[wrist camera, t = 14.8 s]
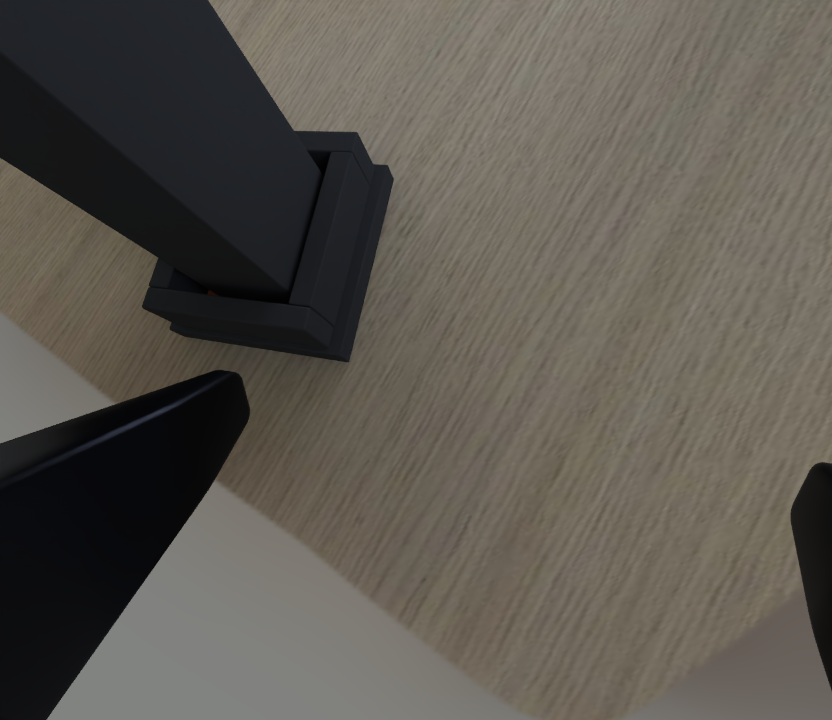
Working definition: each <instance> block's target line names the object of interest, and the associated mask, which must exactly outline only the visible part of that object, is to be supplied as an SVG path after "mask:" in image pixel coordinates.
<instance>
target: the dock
mask: <svg viewBox="0 0 832 720" xmlns="http://www.w3.org/2000/svg"><path fill="white" fill-rule="evenodd" d="M294 132H295V133H296V135H297V136H298V138H299V139H300V141H301V142H302V144H303V146H304V147H305V149H306V150H307V152H308V153H309V155H310V156H311V158H312V159H313V161H314V162H315V164H316V165H317V167H318V168H319V170H320V171H321V173H322V174H323V176H324V178H323V182H322V186H321V189H320V193H319V196H318V200H317V203H316V207H315V211H314V214H313V218H312V221H311V225H310V228H309V232H308V235H307V239H306V243H305V246H304V250H303V253H302V257H301V260H300V264H299V268H298V271H297V275H296V278H295V282H294V285H293V289H292V292H291V296H290V300H289V304H290V305H287V304H280V303H272V302H264V301H256V300H248V299H240V298H232V297H225V296H219V295H217V294H215V293H214V292H212V291H211V290H209V289H207V288H206V287H204V286H203V285H201V284H200V283H198V282H196V281H195V280H193V279H192V278H190V277H188V276H187V275H185V274H184V273H182V272H181V271H179V270H177V269H176V268H174V267H173V266H171V265H169V264H168V263H166V262H165V261H163V260H162V259H160V258H158V261H157V263H156V266H155V269H154V272H153V275H152V278H151V281H150V283H149V286H150V287H149V288H148V290H147V293H146V296H145V299H144V302H143V305H142V308H144V309H145V310H147V311H150V312H152V313H154V314H156V315H158V316H160V317H162V318H164V319H166V320H168V321H171V322H172V323H171V326H170V330H172V331H174V332H176V333H178V334H180V335H183V336H185V337H191V338H198V339H204V340H210V341H217V342H223V343H229V344H236V345H242V346H248V347H255V348H261V349H267V350H274V351H280V352H286V353H293V354H299V355H305V356H312V357H318V358H324V359H331V360H337V361H343V362H349V359H350V355H351V351H352V347H353V343H354V339H355V335H356V331H357V327H358V323H359V319H360V314H361V310H362V306H363V302H364V298H365V294H366V290H367V286H368V282H369V278H370V274H371V270H372V265H373V261H374V257H375V253H376V249H377V245H378V241H379V237H380V233H381V229H382V225H383V221H384V216H385V212H386V208H387V204H388V200H389V196H390V192H391V188H392V184H393V180H394V179H393V177H392V174H391V172H390V170H389V167H388V165H375V164H373V163H372V161H371V159H370V157H369V155H368V153H367V151H366V149H365V147H364V145H363V143H362V141H361V139H360V137H359V135H358V133H357V132H322V131H294Z"/></svg>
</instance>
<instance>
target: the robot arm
mask: <svg viewBox="0 0 832 720" xmlns="http://www.w3.org/2000/svg"><path fill="white" fill-rule="evenodd" d="M249 416H250V407H249V403H248V399H247V395H246V391H245V388H244V384H243V380H242V378H241V376H240V375H239V374H237V373H236V372H230V371H224V370H215V371H212V372H209V373H206V374H203V375H200V376H197V377H194V378H191V379H189V380H186V381H183V382H180V383H177V384H174V385H171V386H168V387H165V388H162V389H159V390H156V391H153V392H150V393H147V394H144V395H142V396H139V397H136V398H133V399H130V400H127V401H124V402H121V403H118V404H115V405H112V406H109V407H107V408H103V409H101V410H98V411H95V412H92V413H89V414H86V415H83V416H80V417H77V418H74V419H71V420H68V421H65V422H62V423H59V424H56V425H53V426H51V427H48V428H45V429H42V430H39V431H36V432H33V433H30V434H27V435H24V436H21V437H18V438H15V439H13V440H9V441H7V442H4V443H1V444H0V720H46V719H47V718H48V717H49V715H50V714H51V712H52V711H53V710H54V708H55V707H56V705H57V704H58V702H59V701H60V700H61V698H62V697H63V695H64V694H65V693H66V691H67V690H68V688H69V687H70V685H71V684H72V683H73V681H74V680H75V678H76V677H77V675H78V674H79V673H80V671H81V670H82V669H83V667H84V666H85V664H86V663H87V661H88V660H89V659H90V657H91V656H92V654H93V653H94V652H95V650H96V649H97V647H98V646H99V644H100V643H101V642H102V640H103V639H104V637H105V636H106V635H107V633H108V632H109V630H110V629H111V627H112V626H113V625H114V623H115V622H116V620H117V619H118V618H119V616H120V615H121V613H122V612H123V611H124V609H125V608H126V606H127V605H128V603H129V602H130V601H131V599H132V598H133V596H134V595H135V594H136V592H137V591H138V589H139V588H140V586H141V585H142V584H143V582H144V581H145V579H146V578H147V577H148V575H149V574H150V572H151V571H152V569H153V568H154V567H155V565H156V564H157V562H158V561H159V560H160V558H161V557H162V555H163V554H164V552H165V551H166V550H167V548H168V547H169V545H170V544H171V543H172V541H173V540H174V538H175V537H176V536H177V534H178V533H179V531H180V530H181V529H182V527H183V526H184V524H185V523H186V521H187V520H188V518H189V517H190V516H191V514H192V513H193V512H194V510H195V509H196V507H197V506H198V504H199V503H200V502H201V500H202V499H203V497H204V495H205V494H206V493H207V491H208V490H209V488H210V487H211V485H212V483H213V482H214V480H215V478H216V477H217V475H218V473H219V471H220V470H221V468H222V466H223V464H224V463H225V461H226V459H227V457H228V456H229V454H230V452H231V450H232V449H233V447H234V445H235V443H236V442H237V440H238V438H239V436H240V435H241V433H242V431H243V429H244V428H245V426H246V424H247V422H248V420H249ZM791 525H792V530H793V535H794V541H795V546H796V551H797V556H798V561H799V566H800V571H801V576H802V581H803V587H804V592H805V597H806V602H807V607H808V612H809V616H810V621H811V625H812V629H813V633H814V637H815V640H816V643H817V647H818V650H819V653H820V656H821V659H822V662H823V665H824V668H825V671H826V675H827V678H828V681H829V684H830V687H831V690H832V464H831V463H825V462H821V463H817V464H815V465H814V466H813V467H812V468H811V470H810V471H809V473H808V475H807V477H806V479H805V481H804V483H803V485H802V487H801V489H800V491H799V493H798V495H797V497H796V499H795V501H794V503H793V505H792V509H791Z"/></svg>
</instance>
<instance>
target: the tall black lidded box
mask: <svg viewBox="0 0 832 720" xmlns="http://www.w3.org/2000/svg"><path fill="white" fill-rule="evenodd" d="M0 158H2V159H3V160H5V161H6V162H8V163H10V164H11V165H13V166H14V167H16V168H18V169H19V170H21V171H22V172H24V173H25V174H27V175H29V176H30V177H32V178H33V179H35V180H37V181H38V182H40V183H41V184H43V185H44V186H46V187H48V188H49V189H51V190H52V191H54V192H56V193H57V194H59V195H60V196H62V197H63V198H65V199H67V200H68V201H70V202H71V203H73V204H75V205H76V206H78V207H79V208H81V209H82V210H84V211H86V212H87V213H89V214H90V215H92V216H93V217H95V218H97V219H98V220H100V221H101V222H103V223H105V224H106V225H108V226H109V227H111V228H112V229H114V230H116V231H117V232H119V233H120V234H122V235H124V236H125V237H127V238H128V239H130V240H131V241H133V242H135V243H136V244H138V245H139V246H141V247H143V248H144V249H146V250H147V251H149V252H150V253H152V254H154V255H155V256H157V257H158V258H160V259H162V260H163V261H165V262H166V263H168V264H169V265H171V266H173V267H174V268H176V269H177V270H179V271H181V272H182V273H184V274H185V275H187V276H188V277H190V278H192V279H193V280H195V281H196V282H198V283H200V284H201V285H203V286H204V287H206V288H207V289H209V290H211V291H212V292H214V293H215V294H217V295H219V296H225V297H232V298H240V299H248V300H256V301H264V302H272V303H280V304H287V305H290V304H289V300H290V296H291V292H292V289H293V285H294V282H295V278H296V275H297V271H298V268H299V264H300V260H301V257H302V253H303V250H304V246H305V243H306V239H307V235H308V232H309V228H310V225H311V221H312V218H313V214H314V211H315V207H316V203H317V200H318V196H319V193H320V189H321V186H322V182H323V178H324V176H323V174H322V173H321V171H320V170H319V168H318V167H317V165H316V164H315V162H314V161H313V159H312V158H311V156H310V155H309V153H308V152H307V150H306V149H305V147H304V146H303V144H302V142H301V141H300V139H299V138H298V136H297V135H296V133H295V132H294V130H293V129H292V127H291V126H290V124H289V123H288V121H287V120H286V118H285V117H284V115H283V114H282V112H281V111H280V109H279V108H278V106H277V104H276V103H275V101H274V100H273V98H272V97H271V95H270V94H269V92H268V91H267V89H266V88H265V86H264V85H263V83H262V82H261V80H260V79H259V77H258V76H257V74H256V73H255V71H254V69H253V68H252V66H251V65H250V63H249V62H248V60H247V59H246V57H245V56H244V54H243V53H242V51H241V50H240V48H239V47H238V45H237V44H236V42H235V41H234V39H233V38H232V36H231V35H230V33H229V31H228V30H227V28H226V27H225V25H224V24H223V22H222V21H221V19H220V18H219V16H218V15H217V13H216V12H215V10H214V9H213V7H212V6H211V4H210V3H209V1H208V0H0Z"/></svg>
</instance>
